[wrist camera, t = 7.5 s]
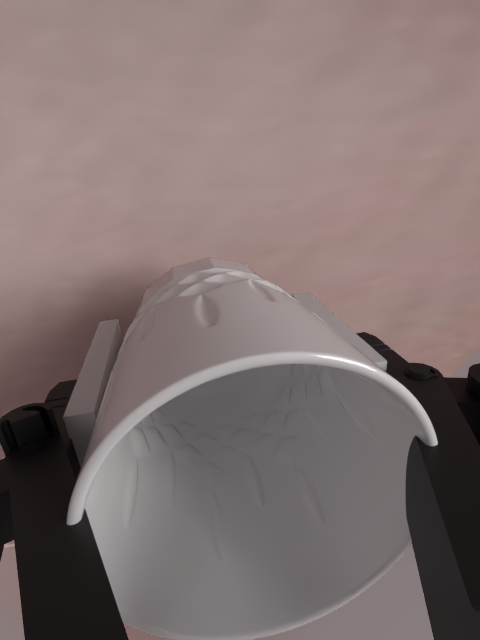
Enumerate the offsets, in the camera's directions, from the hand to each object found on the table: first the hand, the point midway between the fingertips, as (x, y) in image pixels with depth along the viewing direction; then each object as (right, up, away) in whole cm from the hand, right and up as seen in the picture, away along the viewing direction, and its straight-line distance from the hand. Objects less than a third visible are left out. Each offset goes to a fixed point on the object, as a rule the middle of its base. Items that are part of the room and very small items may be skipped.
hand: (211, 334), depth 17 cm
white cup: (0, 0, 0) cm, 0 cm away
